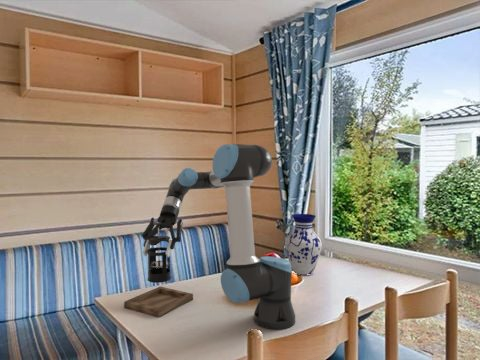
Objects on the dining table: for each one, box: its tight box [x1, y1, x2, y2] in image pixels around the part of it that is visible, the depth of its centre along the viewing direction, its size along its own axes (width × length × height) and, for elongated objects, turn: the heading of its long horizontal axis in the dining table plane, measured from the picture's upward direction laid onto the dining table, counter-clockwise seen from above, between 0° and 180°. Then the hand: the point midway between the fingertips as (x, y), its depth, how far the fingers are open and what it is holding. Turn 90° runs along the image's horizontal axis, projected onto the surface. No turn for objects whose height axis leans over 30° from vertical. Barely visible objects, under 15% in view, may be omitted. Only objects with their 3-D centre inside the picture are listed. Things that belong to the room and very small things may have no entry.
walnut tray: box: [123, 286, 194, 318], centre depth 158 cm, size 18×21×2 cm
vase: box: [284, 213, 323, 276], centre depth 201 cm, size 19×19×30 cm
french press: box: [147, 222, 172, 284], centre depth 157 cm, size 12×9×23 cm
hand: (155, 254), depth 154 cm, fingers closed on french press, 9 cm apart
